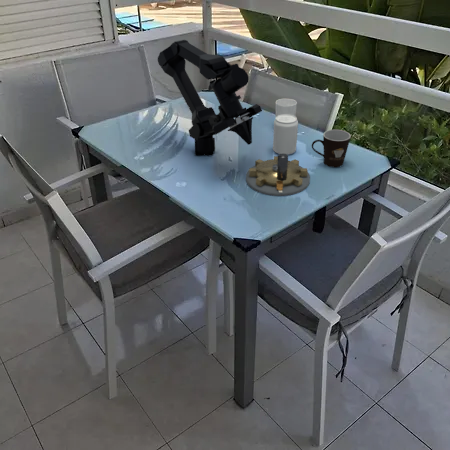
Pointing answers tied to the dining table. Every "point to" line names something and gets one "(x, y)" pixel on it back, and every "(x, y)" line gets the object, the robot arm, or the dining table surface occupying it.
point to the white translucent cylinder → (286, 107)
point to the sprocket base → (272, 189)
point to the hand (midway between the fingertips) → (250, 143)
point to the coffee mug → (334, 147)
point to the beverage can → (285, 134)
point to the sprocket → (278, 172)
